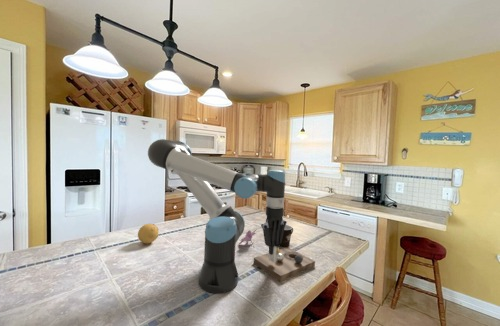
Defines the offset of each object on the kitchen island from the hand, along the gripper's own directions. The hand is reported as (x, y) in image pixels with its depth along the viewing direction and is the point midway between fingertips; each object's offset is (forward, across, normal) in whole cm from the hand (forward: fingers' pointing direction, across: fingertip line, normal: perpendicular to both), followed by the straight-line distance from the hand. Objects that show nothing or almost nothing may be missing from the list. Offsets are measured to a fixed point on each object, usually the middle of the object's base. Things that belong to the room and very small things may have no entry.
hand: (272, 260), depth 91 cm
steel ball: (0, +5, 0) cm, 5 cm away
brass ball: (0, +8, +6) cm, 10 cm away
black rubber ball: (0, +11, -5) cm, 12 cm away
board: (+4, +8, +1) cm, 9 cm away
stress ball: (+3, -39, +54) cm, 67 cm away
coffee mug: (+5, +24, +16) cm, 29 cm away
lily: (+4, +6, +25) cm, 26 cm away
